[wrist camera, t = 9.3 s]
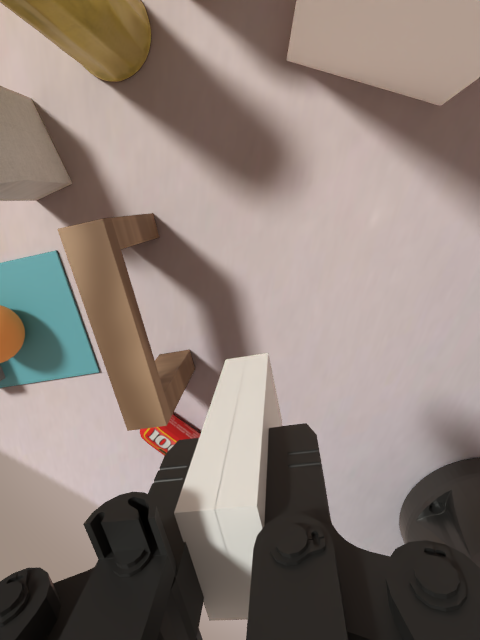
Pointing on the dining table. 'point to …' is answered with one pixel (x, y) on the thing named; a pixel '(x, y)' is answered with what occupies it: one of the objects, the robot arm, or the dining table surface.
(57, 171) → the white gabled box
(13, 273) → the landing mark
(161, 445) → the candy bar
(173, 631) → the robot arm
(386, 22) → the milk
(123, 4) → the vase
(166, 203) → the dining table surface
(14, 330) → the ball
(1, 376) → the wall
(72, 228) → the bridge
